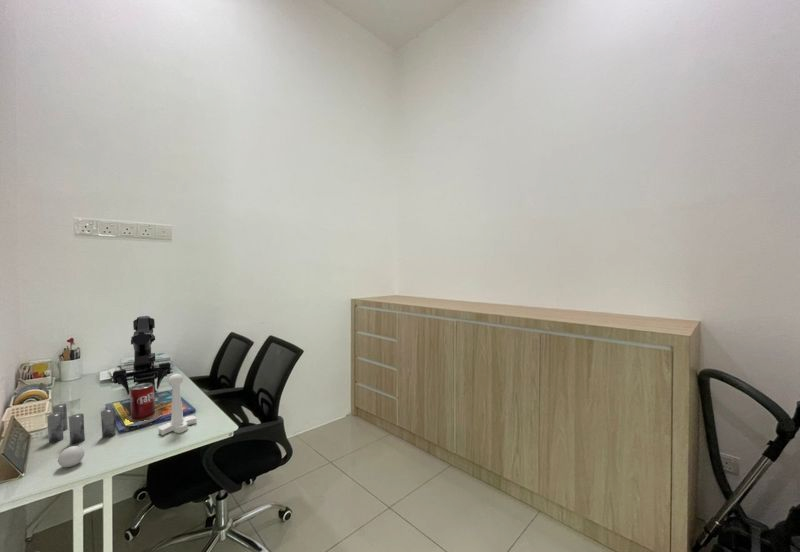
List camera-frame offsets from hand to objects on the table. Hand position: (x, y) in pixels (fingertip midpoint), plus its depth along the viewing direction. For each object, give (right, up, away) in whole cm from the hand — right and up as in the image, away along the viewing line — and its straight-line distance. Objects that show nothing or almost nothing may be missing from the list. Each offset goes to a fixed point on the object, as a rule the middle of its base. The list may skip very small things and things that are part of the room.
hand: (143, 391), depth 130 cm
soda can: (+4, -8, -5) cm, 10 cm away
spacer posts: (-10, -10, -15) cm, 21 cm away
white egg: (+4, -11, -34) cm, 35 cm away
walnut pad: (+4, -9, -5) cm, 11 cm away
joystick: (+24, -9, -13) cm, 28 cm away
